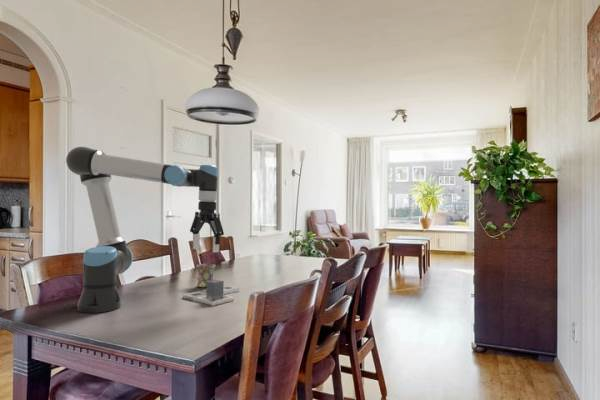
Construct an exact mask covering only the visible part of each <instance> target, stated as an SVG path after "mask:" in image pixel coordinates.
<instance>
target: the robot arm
mask: <svg viewBox="0 0 600 400" xmlns="http://www.w3.org/2000/svg"><path fill="white" fill-rule="evenodd" d="M65 159H66V161H65V162H66V166H67V168H68V169H69V170H70V172H72V173H73V174H75V175H78V176H79V178H80V183H81V184H82V185H84V186H85V187H86V192H87V195H88V199H89V204H90V209H91V213H92V217H93V222H94V225H95V231H96V235H97V241H98V243H97V244H96V245H95V246H93V247H90V248H88V249H86V250H85V251H84V253H83V258H82V267H83V268H82V277H83V278H82V291H81V294H80V296H79V299H78V301H77V302H78V303H77V312H79V313H84V314H94V313H95V314H97V313H105V312H111V311H115V310H118V309H119V308H121V305H122V304H121V303H122V302H121V301H122V300H121V297H120V295H119V292H118V289H117V275H120V274H123V273H124V272H126V271H127V270H128V269H130V267H131V265H132V263H133V259H134V256H133V253H132V250H131V249H130V248H128V246H127V241H126V239H124V238H123V237H122V236H121V233H120V228H119V224H118V219H117V216H116V215H117V213H116V211H115V206H114V201H113V197H112V193H111V188H110V185H109V184H110V182H111V180H112V176H116V177H122V178H129V179H133V180H141V181H148V182H155V183H160V184H161V183H162V184H165V185H171V186H172V187H179V188H180V187H188V188H189V187H193V188H194V187H195V188H198V190H199V191H198V200H199V201H198V210H199V211H195V213H194V217H193V221H192V223H191V226H190V229H189V232H190V233H192V241H193V243H192V249H193V250H199V249H200V241H201V240H200V238H201V237H200V235H201V234H200V232H201V230H202V229H203V228H202V227H204V224H208V225H209V227H210V229H211V231H212V233H213V237H212V253H219V252H220V242H221V236H224V235H225V234H224V228H223V225H222V221H221V217H220V216H221V215H220V212H215V211H216V210H217V202H216V201H217V194H218V193H217V191H218V177H219V176H218V167H217V166H216V165H213V164H201V165H199V169H193V168H184V167H183V166H181V165H176V164H175V165H172V164H165V163H160V162H155V161H153V162H152V161H149V160H148V161H147V160H140V159H134V158H130V157H121V156H118V155H117V156H116V155H110V154H106V153H105V152H104V151H101V150H98V149H93V148H90V147H87V146H77V147H74V148H72V149H71V150H70V151H69V152H68V154H67V156H66V158H65Z"/></svg>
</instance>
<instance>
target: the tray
mask: <svg viewBox="0 0 600 400" xmlns="http://www.w3.org/2000/svg"><path fill="white" fill-rule="evenodd" d="M234 300H235V299H234V296H230V295H228V294H224V295H223V299H222V300H217V301H210V300H206V296H201V297H196V301H195V302H198V303H200V304H205V305H209V306H212V307H213V306H217V305H221V304H222V305H223V304H227V303H230V302H234Z"/></svg>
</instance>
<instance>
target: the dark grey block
mask: <svg viewBox="0 0 600 400" xmlns="http://www.w3.org/2000/svg"><path fill="white" fill-rule="evenodd" d="M223 286H225V285H224V281H223V280H220V279H219V280H218V279H213V280H211V281H207V288H206V289H205V290H206V300H210V301H217V300H222V299H223Z"/></svg>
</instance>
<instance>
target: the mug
mask: <svg viewBox="0 0 600 400" xmlns="http://www.w3.org/2000/svg"><path fill="white" fill-rule="evenodd" d="M216 266H217V265H216V263H215V264H213V263H199V264H196V267H192V268H191V270H190V272H191V275H192V276H193V277H194V278H196V279H197V281H198V282H197V284H196V286H197V287H200V288H206V289H207V281H211V280H214V271H215V268H216ZM194 269H195V270H197V273H198V277H197V275H196V274H194V273H193V270H194Z"/></svg>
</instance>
